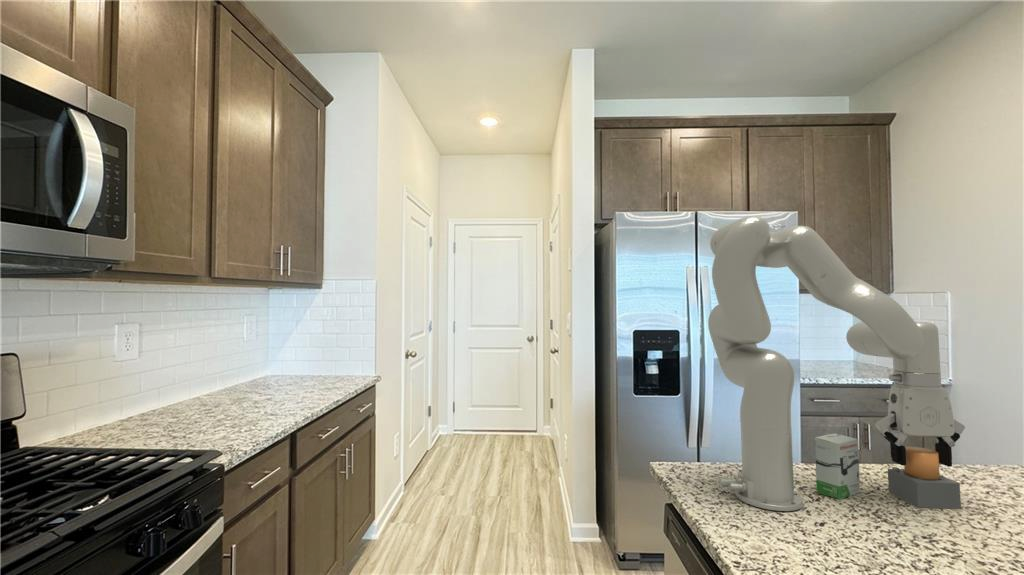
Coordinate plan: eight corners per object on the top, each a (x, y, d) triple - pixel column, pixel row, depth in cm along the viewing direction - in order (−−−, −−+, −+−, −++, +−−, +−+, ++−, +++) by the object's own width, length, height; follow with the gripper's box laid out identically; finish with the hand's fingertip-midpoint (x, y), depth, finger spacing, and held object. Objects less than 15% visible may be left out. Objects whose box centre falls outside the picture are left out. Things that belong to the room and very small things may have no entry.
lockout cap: (918, 479, 93) (916, 454, 93) (897, 469, 98) (896, 446, 99) (947, 479, 93) (945, 454, 93) (925, 470, 98) (923, 446, 98)
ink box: (839, 500, 95) (837, 443, 96) (815, 492, 100) (812, 437, 100) (862, 492, 99) (859, 437, 100) (837, 485, 104) (834, 432, 104)
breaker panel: (918, 507, 92) (916, 479, 92) (888, 491, 100) (887, 465, 100) (961, 508, 91) (959, 480, 91) (928, 493, 99) (926, 466, 99)
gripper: (885, 382, 94) (890, 469, 93) (977, 383, 92) (983, 471, 91) (861, 377, 101) (865, 457, 100) (946, 377, 100) (950, 459, 99)
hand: (921, 463), depth 96 cm, fingers open, 8 cm apart
